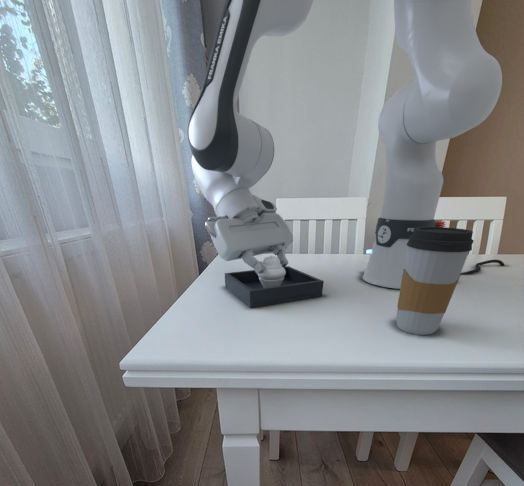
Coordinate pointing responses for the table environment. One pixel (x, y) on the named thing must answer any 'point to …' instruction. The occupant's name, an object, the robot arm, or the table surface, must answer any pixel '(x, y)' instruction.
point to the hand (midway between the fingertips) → (273, 268)
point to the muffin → (272, 272)
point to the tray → (290, 289)
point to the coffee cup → (430, 276)
